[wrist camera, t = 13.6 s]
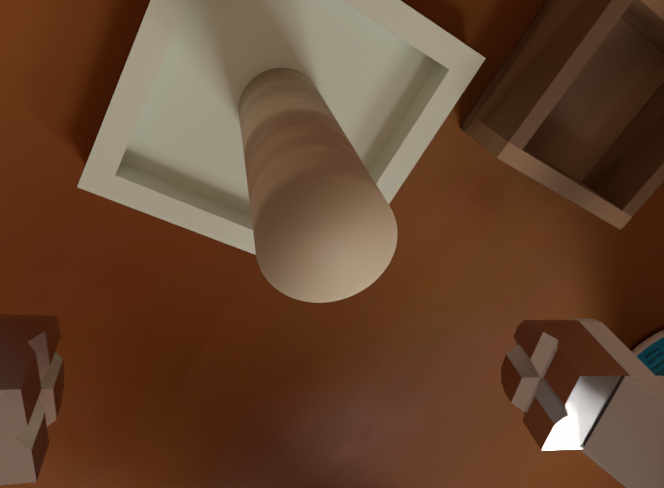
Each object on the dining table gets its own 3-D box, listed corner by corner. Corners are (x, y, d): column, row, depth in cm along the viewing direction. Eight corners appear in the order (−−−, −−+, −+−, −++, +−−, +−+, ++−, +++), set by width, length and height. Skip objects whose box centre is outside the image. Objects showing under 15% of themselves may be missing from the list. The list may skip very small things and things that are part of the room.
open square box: (687, 54, 23) (758, 74, 20) (573, 194, 26) (620, 230, 23) (575, -43, 20) (638, -37, 17) (459, 127, 23) (496, 158, 20)
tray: (466, 48, 21) (486, 58, 19) (327, 263, 25) (335, 284, 23) (204, -129, 16) (202, -134, 15) (87, 167, 20) (77, 187, 19)
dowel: (337, 93, 20) (424, 213, 12) (297, 163, 21) (351, 319, 13) (262, 51, 19) (299, 152, 10) (224, 128, 20) (230, 275, 12)
